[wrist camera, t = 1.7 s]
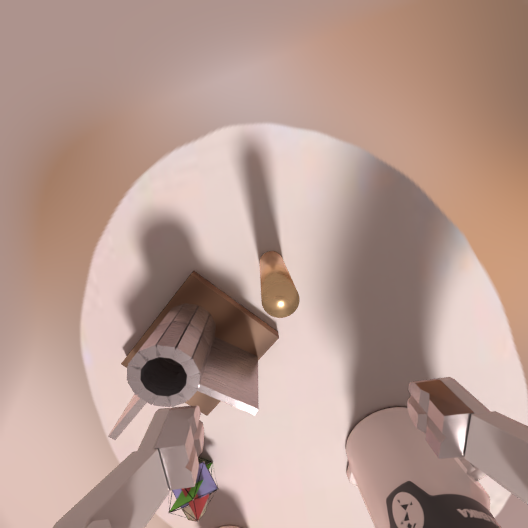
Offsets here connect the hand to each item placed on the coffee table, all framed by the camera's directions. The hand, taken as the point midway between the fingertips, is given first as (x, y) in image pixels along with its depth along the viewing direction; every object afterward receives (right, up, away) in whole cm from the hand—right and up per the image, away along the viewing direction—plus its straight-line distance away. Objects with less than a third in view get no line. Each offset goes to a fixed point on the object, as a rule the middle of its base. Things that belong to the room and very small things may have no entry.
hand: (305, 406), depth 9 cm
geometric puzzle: (-12, -26, +30) cm, 42 cm away
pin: (-1, +6, +22) cm, 22 cm away
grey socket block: (-11, -7, +23) cm, 26 cm away
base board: (-10, -6, +24) cm, 27 cm away
